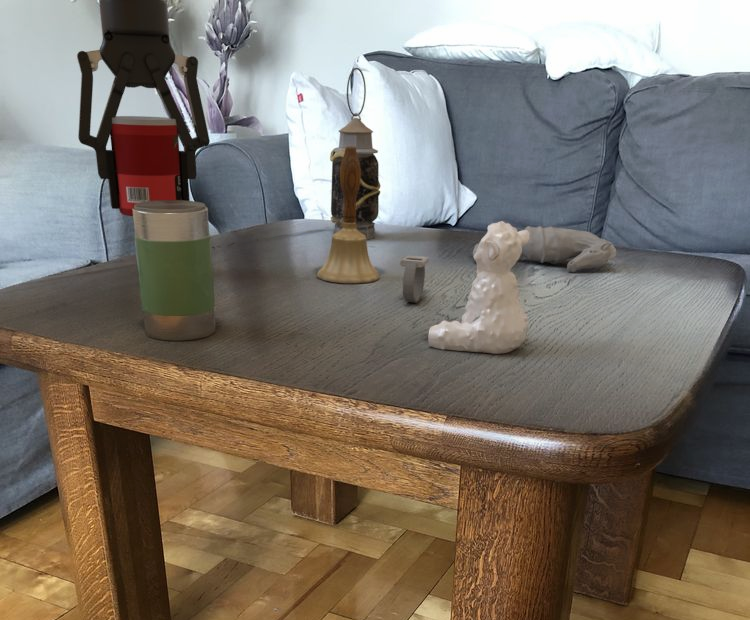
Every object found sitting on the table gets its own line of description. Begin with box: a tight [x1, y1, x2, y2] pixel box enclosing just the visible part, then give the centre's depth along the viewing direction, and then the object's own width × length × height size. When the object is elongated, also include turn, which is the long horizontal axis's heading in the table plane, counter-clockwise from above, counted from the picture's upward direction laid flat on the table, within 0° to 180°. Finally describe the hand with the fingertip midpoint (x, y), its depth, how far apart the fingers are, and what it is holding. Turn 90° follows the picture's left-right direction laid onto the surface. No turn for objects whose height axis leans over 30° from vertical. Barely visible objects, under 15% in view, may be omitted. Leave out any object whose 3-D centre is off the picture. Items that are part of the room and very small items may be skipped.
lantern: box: [329, 67, 381, 241], centre depth 131 cm, size 9×8×25 cm
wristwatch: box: [399, 255, 430, 304], centre depth 96 cm, size 6×3×5 cm, turn 164°
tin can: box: [132, 200, 216, 342], centre depth 81 cm, size 7×7×12 cm
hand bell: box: [316, 146, 381, 285], centre depth 105 cm, size 8×8×16 cm
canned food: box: [109, 115, 182, 217], centre depth 101 cm, size 8×8×11 cm
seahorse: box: [472, 225, 617, 273], centre depth 118 cm, size 5×12×20 cm
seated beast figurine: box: [427, 220, 530, 355], centre depth 79 cm, size 10×9×12 cm
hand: (150, 206), depth 103 cm, fingers closed on canned food, 8 cm apart
